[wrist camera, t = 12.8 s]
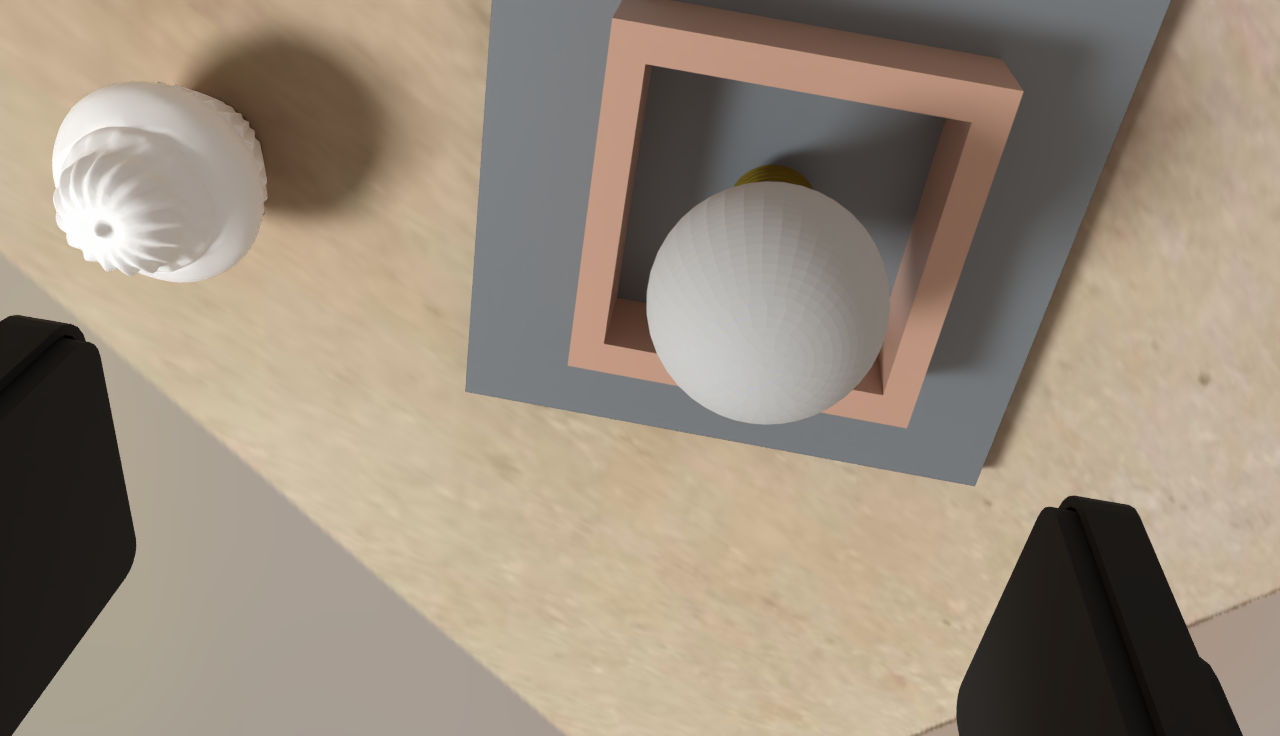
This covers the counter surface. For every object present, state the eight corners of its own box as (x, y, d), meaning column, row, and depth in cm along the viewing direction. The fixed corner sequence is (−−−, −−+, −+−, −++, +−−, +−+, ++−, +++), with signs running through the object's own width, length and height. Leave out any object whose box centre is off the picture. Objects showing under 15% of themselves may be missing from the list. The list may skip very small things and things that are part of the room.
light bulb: (914, 192, 31) (958, 365, 23) (774, 318, 34) (766, 515, 25) (770, 57, 30) (759, 187, 21) (636, 200, 32) (577, 366, 24)
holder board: (512, -185, 28) (475, -173, 25) (1182, -68, 28) (1239, -39, 24) (472, 376, 38) (441, 441, 34) (970, 469, 37) (989, 543, 34)
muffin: (258, 30, 32) (139, 100, 26) (335, 214, 35) (244, 314, 29) (85, 74, 33) (-66, 150, 27) (174, 247, 36) (56, 350, 30)
